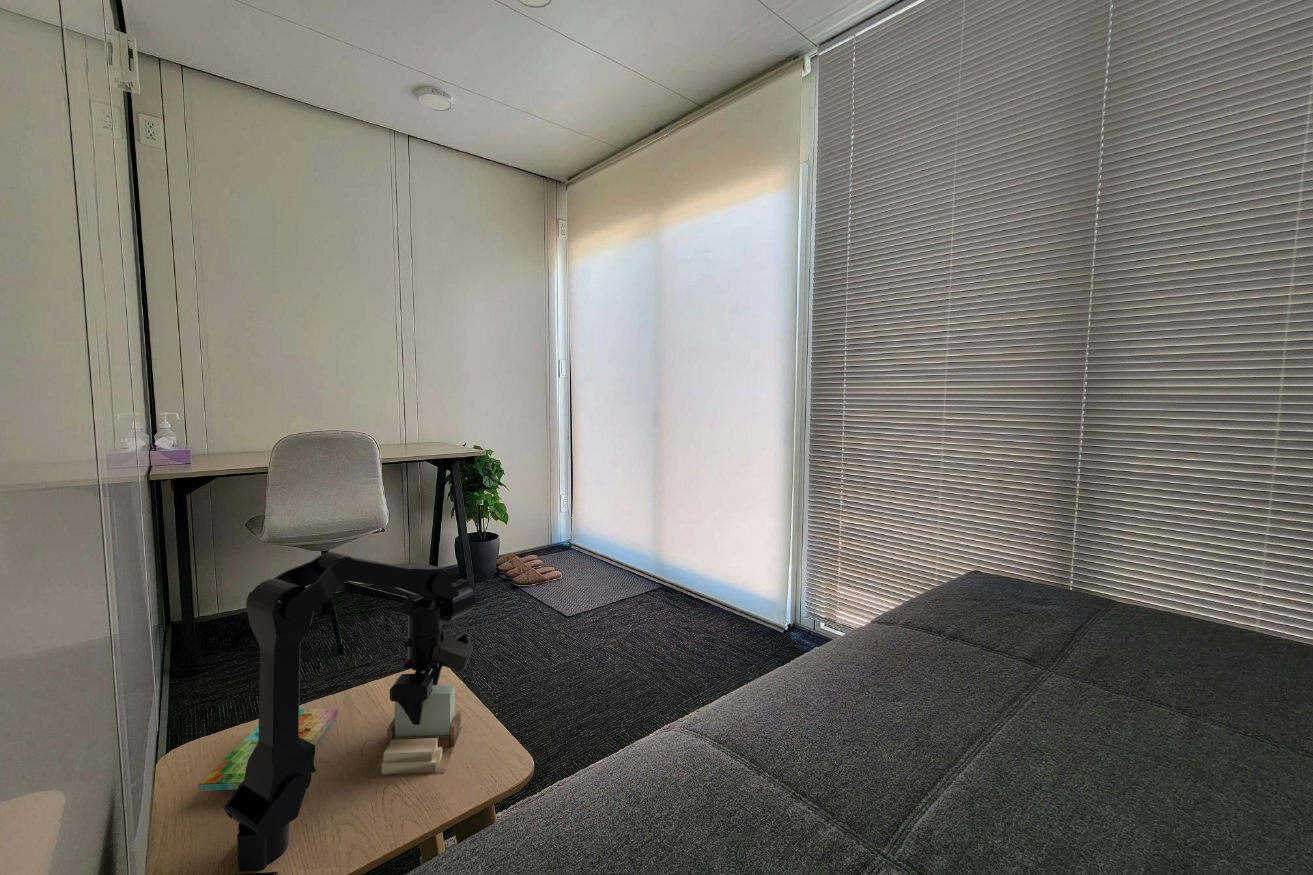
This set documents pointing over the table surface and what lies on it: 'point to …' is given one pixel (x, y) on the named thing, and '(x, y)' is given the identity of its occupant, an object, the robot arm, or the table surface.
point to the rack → (443, 740)
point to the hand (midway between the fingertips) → (424, 709)
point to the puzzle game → (235, 763)
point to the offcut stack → (412, 756)
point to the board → (429, 715)
